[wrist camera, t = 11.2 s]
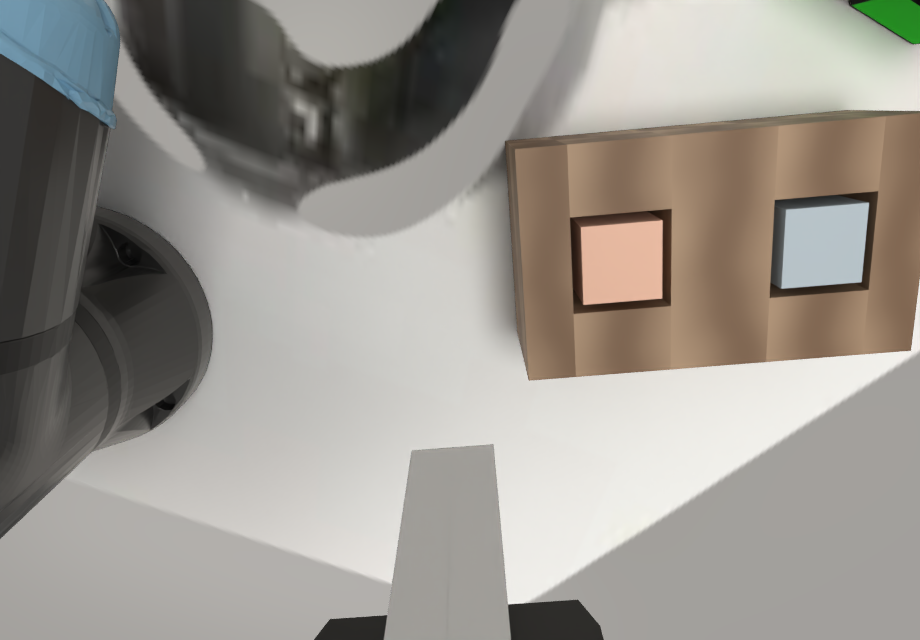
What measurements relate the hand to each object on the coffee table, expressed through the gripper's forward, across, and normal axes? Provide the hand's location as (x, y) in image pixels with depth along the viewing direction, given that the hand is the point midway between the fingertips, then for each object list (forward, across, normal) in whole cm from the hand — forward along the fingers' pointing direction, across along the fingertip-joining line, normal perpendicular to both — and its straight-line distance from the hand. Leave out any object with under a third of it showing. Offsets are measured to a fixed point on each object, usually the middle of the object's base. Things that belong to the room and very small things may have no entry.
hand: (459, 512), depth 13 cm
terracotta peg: (+30, +8, -1) cm, 31 cm away
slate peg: (+30, +18, -1) cm, 35 cm away
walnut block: (+30, +13, -1) cm, 33 cm away
